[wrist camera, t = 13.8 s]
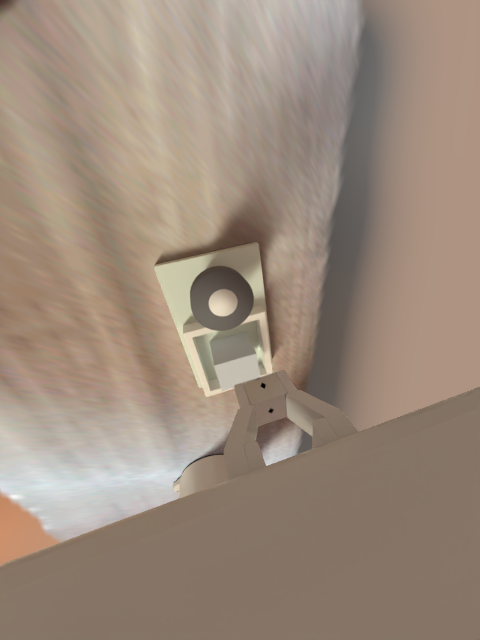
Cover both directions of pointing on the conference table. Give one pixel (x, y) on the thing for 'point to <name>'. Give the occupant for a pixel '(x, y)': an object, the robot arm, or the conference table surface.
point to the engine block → (234, 360)
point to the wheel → (221, 298)
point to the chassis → (197, 337)
